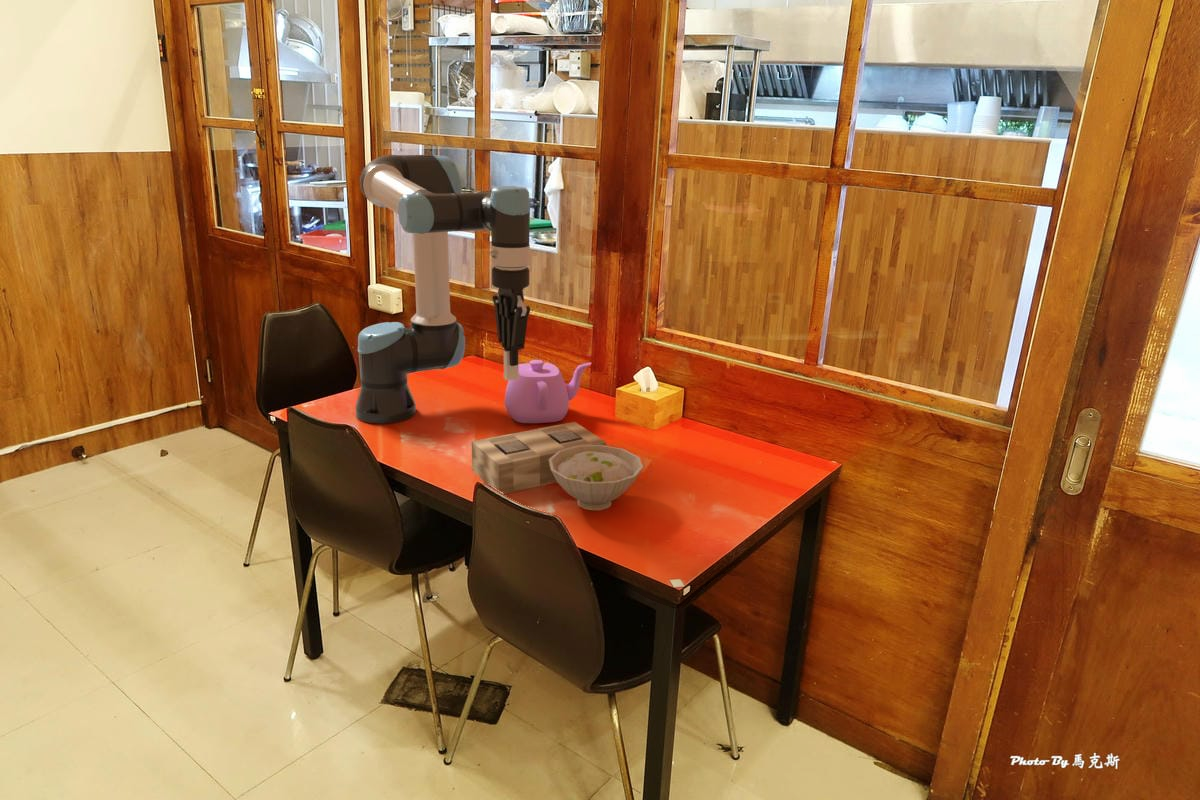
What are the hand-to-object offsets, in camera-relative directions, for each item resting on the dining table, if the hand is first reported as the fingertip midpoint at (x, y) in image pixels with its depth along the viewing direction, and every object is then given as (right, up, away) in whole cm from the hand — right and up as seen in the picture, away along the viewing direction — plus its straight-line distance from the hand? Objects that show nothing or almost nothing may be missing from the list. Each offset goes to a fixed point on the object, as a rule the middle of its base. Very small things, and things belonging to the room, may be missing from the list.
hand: (511, 378), depth 167 cm
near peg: (-1, -21, +7) cm, 22 cm away
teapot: (+3, -9, +43) cm, 44 cm away
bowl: (+17, -26, -3) cm, 31 cm away
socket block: (+5, -20, +10) cm, 23 cm away
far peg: (+11, -19, +13) cm, 25 cm away
